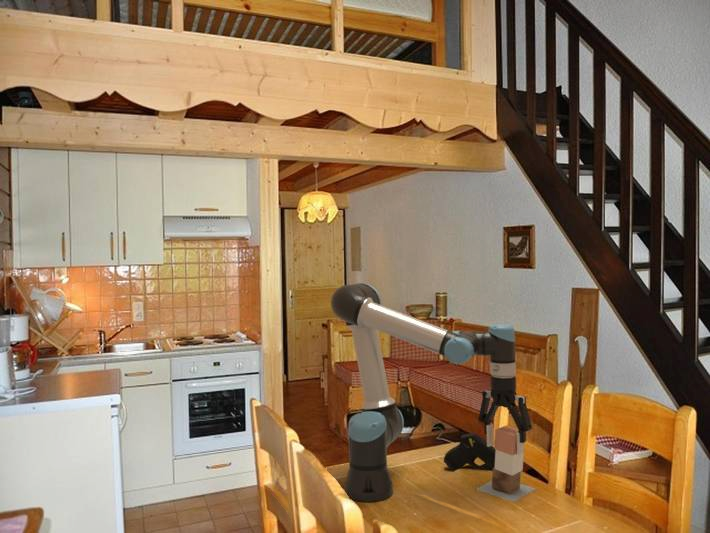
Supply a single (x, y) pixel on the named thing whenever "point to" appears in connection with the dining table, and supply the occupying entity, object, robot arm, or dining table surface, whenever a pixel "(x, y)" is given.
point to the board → (512, 497)
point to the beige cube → (508, 462)
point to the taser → (471, 453)
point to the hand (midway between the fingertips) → (505, 449)
